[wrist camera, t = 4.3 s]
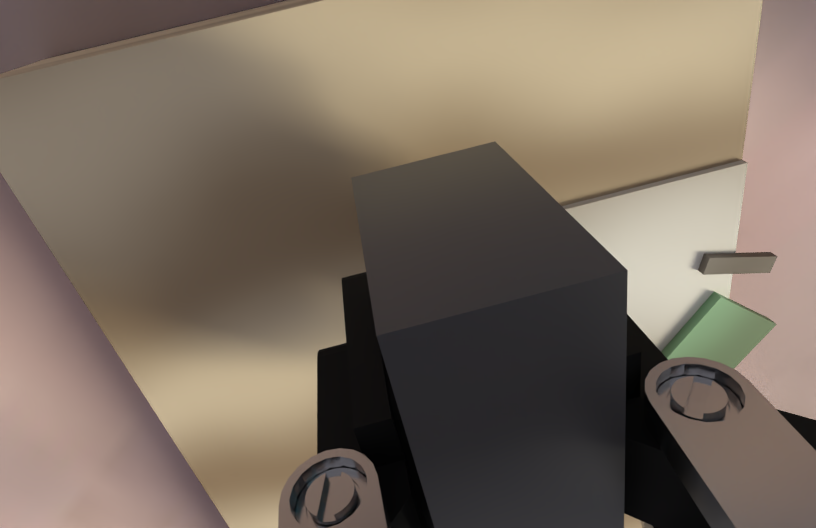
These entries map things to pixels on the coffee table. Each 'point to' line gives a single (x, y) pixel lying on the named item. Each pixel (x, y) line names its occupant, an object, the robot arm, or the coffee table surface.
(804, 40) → the coffee table surface
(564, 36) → the tan flat box
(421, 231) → the peg
